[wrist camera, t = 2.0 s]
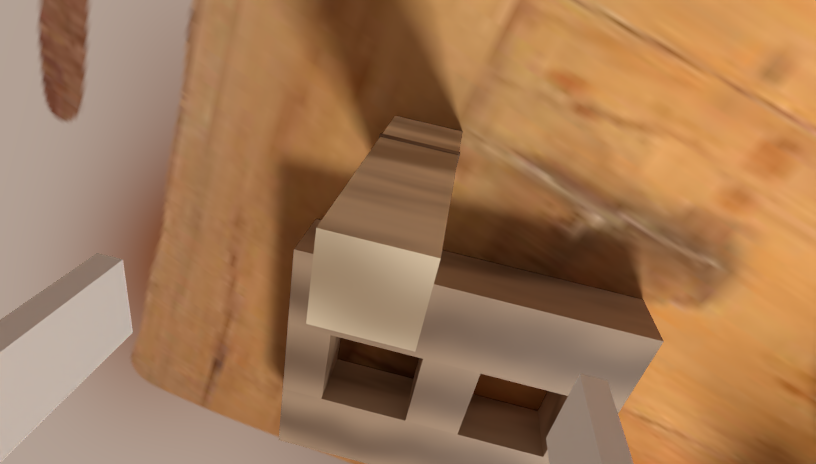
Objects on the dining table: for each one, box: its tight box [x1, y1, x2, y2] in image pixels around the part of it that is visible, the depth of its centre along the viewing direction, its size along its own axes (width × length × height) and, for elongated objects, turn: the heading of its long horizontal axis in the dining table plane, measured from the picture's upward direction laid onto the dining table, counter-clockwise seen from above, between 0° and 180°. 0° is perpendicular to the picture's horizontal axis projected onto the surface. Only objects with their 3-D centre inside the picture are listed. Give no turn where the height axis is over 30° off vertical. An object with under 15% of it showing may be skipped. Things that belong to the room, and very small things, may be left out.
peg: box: [306, 116, 463, 352], centre depth 21 cm, size 4×4×14 cm
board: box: [279, 219, 664, 464], centre depth 33 cm, size 18×22×4 cm
